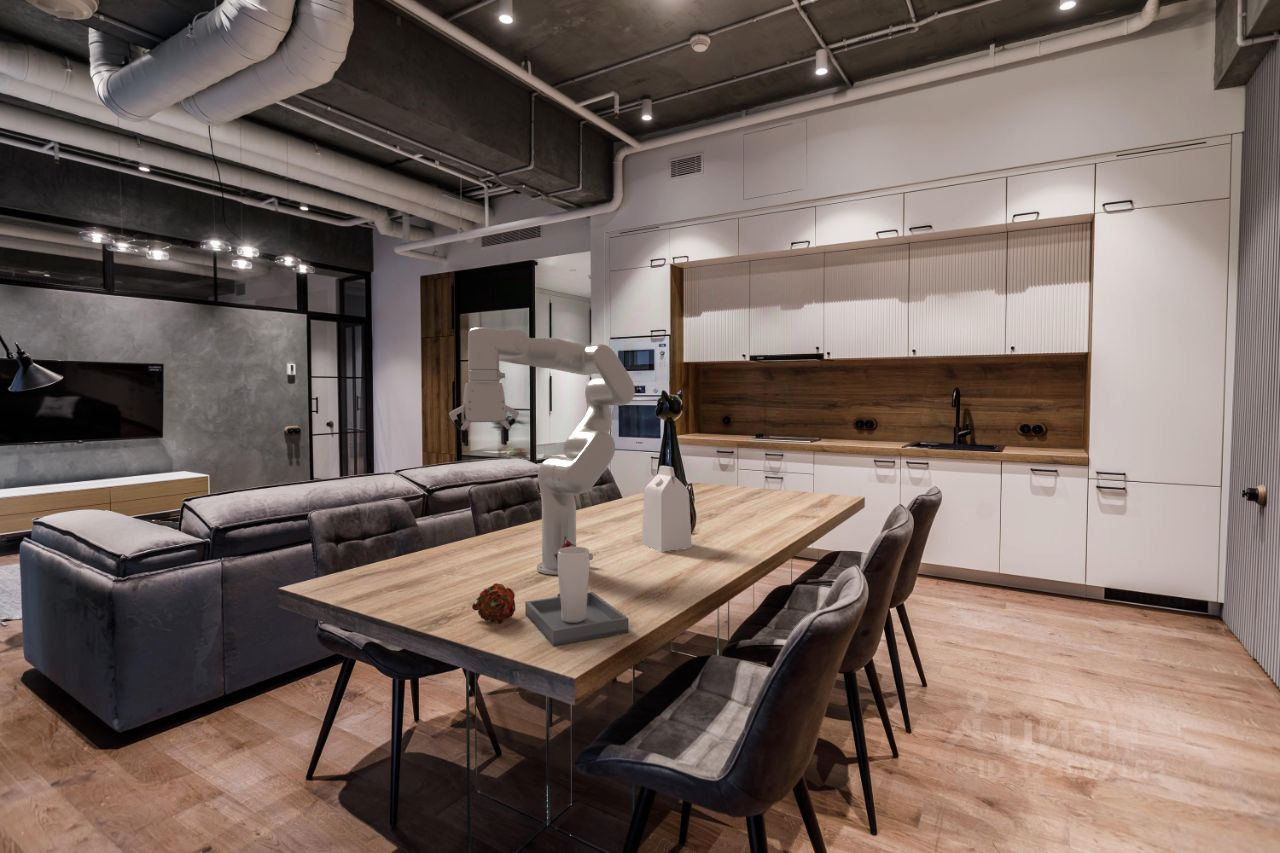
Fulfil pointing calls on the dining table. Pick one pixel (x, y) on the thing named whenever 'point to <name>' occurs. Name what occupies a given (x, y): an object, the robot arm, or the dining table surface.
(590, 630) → the tray
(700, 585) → the dining table surface
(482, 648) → the dining table surface
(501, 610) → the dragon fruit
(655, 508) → the milk
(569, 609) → the drinking glass
